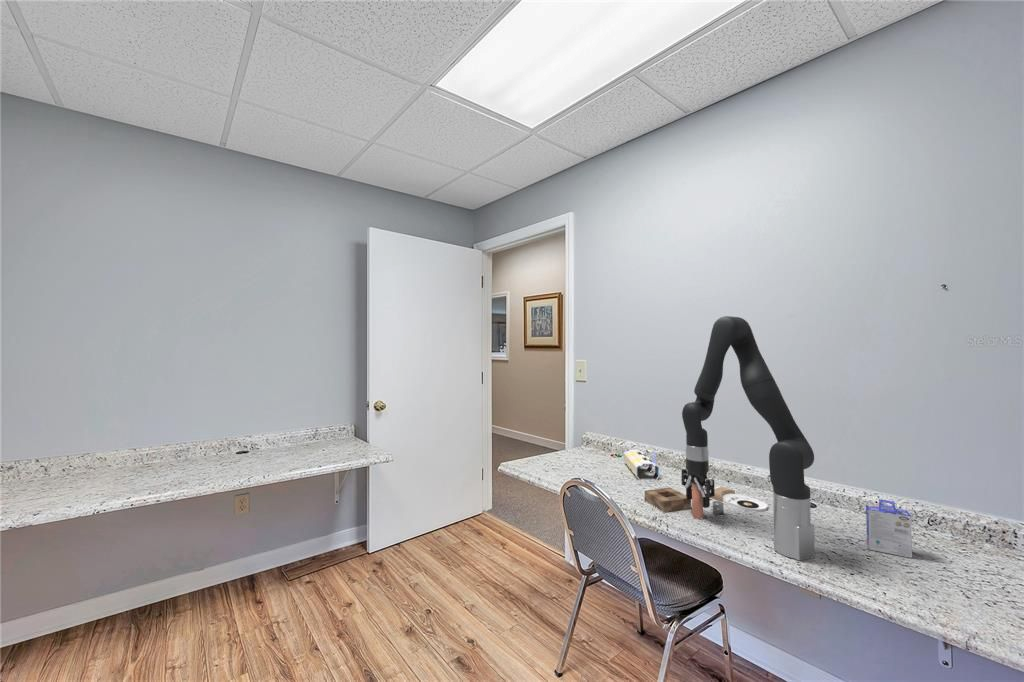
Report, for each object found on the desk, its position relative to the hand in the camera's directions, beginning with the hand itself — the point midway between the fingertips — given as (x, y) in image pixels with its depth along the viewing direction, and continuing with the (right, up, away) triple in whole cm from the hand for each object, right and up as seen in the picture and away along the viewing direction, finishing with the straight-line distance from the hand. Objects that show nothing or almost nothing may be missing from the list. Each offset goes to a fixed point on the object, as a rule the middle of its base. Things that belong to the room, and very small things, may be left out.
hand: (697, 503), depth 149 cm
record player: (+22, -5, +13) cm, 26 cm away
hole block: (-7, -5, +12) cm, 14 cm away
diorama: (-4, -6, +53) cm, 53 cm away
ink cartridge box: (+46, -5, -25) cm, 53 cm away
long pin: (0, -5, 0) cm, 5 cm away
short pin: (+9, -5, +3) cm, 10 cm away
